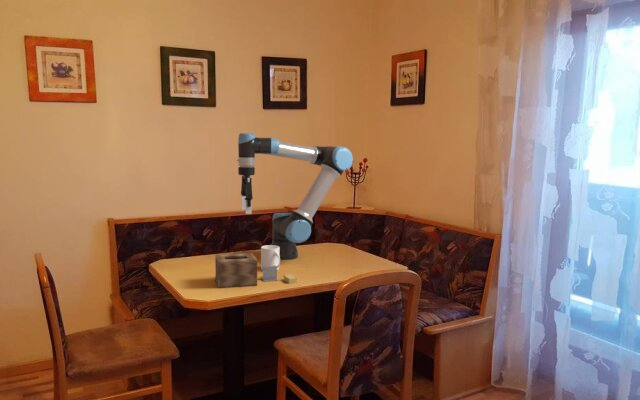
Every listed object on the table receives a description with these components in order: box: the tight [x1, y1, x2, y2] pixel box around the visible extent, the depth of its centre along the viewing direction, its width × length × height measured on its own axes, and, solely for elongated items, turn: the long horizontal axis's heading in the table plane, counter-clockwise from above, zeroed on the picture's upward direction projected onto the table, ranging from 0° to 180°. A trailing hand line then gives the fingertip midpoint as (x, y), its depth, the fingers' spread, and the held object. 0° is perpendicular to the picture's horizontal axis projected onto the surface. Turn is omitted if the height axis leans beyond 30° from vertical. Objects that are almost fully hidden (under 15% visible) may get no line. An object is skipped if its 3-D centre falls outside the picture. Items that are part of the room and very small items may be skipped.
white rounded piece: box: [260, 244, 281, 271], centre depth 241 cm, size 9×12×11 cm
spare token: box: [283, 273, 298, 285], centre depth 223 cm, size 7×3×2 cm, turn 24°
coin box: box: [214, 252, 258, 289], centre depth 219 cm, size 16×13×11 cm
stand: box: [260, 266, 279, 282], centre depth 226 cm, size 6×6×6 cm
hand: (246, 211), depth 243 cm, fingers open, 13 cm apart
